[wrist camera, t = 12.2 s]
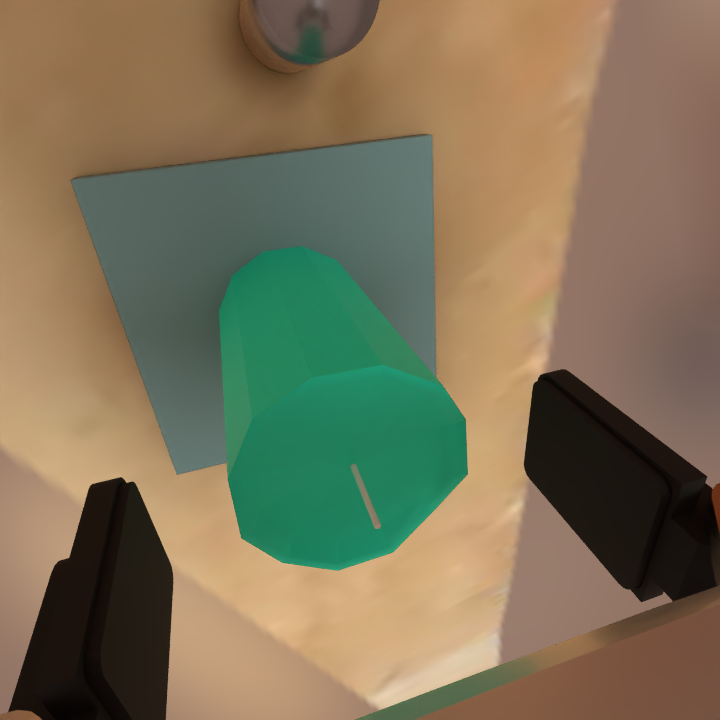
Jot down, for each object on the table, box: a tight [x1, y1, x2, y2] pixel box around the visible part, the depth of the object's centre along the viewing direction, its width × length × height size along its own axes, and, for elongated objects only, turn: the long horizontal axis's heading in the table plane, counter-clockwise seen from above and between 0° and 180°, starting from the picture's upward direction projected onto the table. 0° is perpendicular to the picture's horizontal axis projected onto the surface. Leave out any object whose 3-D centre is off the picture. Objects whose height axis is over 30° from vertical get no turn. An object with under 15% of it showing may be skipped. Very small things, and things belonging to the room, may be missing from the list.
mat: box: [70, 134, 436, 475], centre depth 21 cm, size 13×13×1 cm
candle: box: [219, 246, 468, 571], centre depth 15 cm, size 6×6×12 cm
